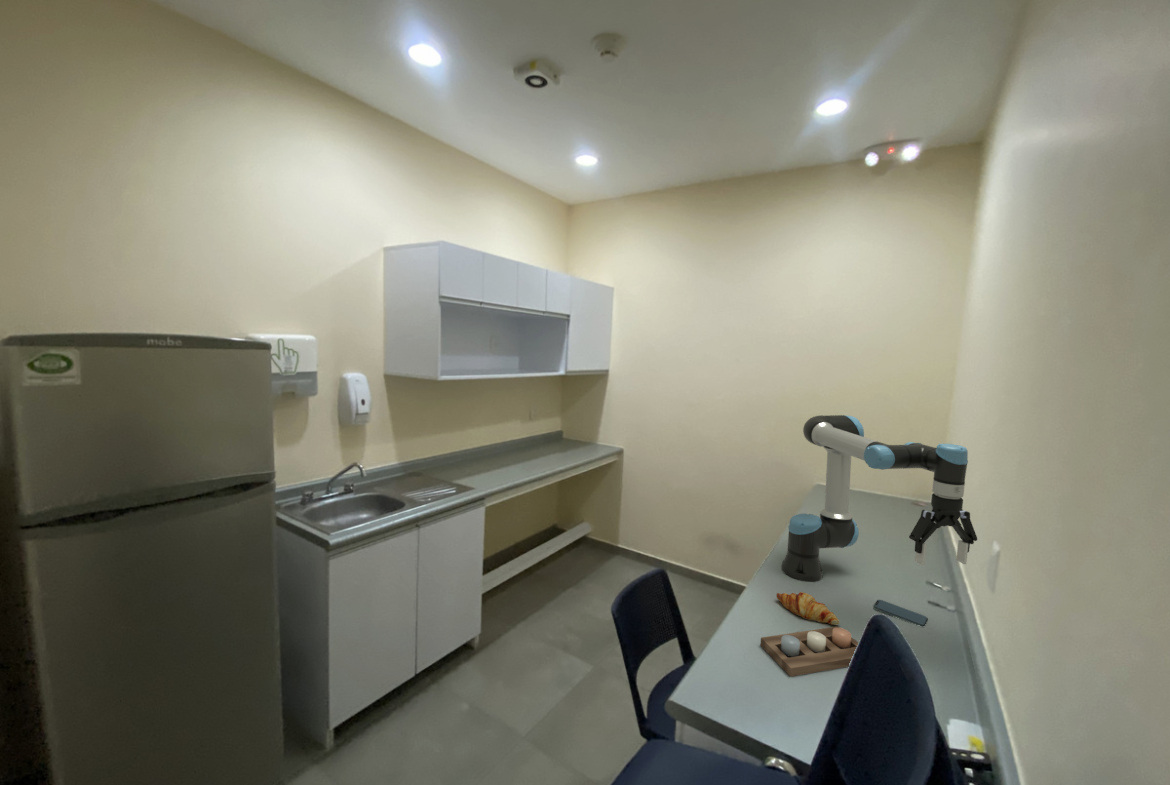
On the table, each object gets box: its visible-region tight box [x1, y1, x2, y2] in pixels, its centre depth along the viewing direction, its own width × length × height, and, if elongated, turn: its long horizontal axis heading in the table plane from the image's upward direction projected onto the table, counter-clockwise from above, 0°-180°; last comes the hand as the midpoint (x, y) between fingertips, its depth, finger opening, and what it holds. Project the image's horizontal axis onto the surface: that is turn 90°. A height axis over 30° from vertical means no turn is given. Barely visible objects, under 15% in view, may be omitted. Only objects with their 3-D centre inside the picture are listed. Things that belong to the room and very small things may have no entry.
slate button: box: [781, 635, 800, 658], centre depth 138 cm, size 5×5×4 cm
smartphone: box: [872, 599, 929, 627], centre depth 162 cm, size 8×2×15 cm
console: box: [760, 625, 858, 678], centre depth 140 cm, size 14×28×2 cm, turn 104°
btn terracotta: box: [832, 627, 852, 649], centre depth 142 cm, size 5×5×4 cm
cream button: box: [807, 631, 826, 653], centre depth 140 cm, size 5×5×4 cm
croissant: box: [776, 591, 840, 626], centre depth 162 cm, size 21×10×8 cm, turn 44°
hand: (940, 562), depth 144 cm, fingers open, 13 cm apart
